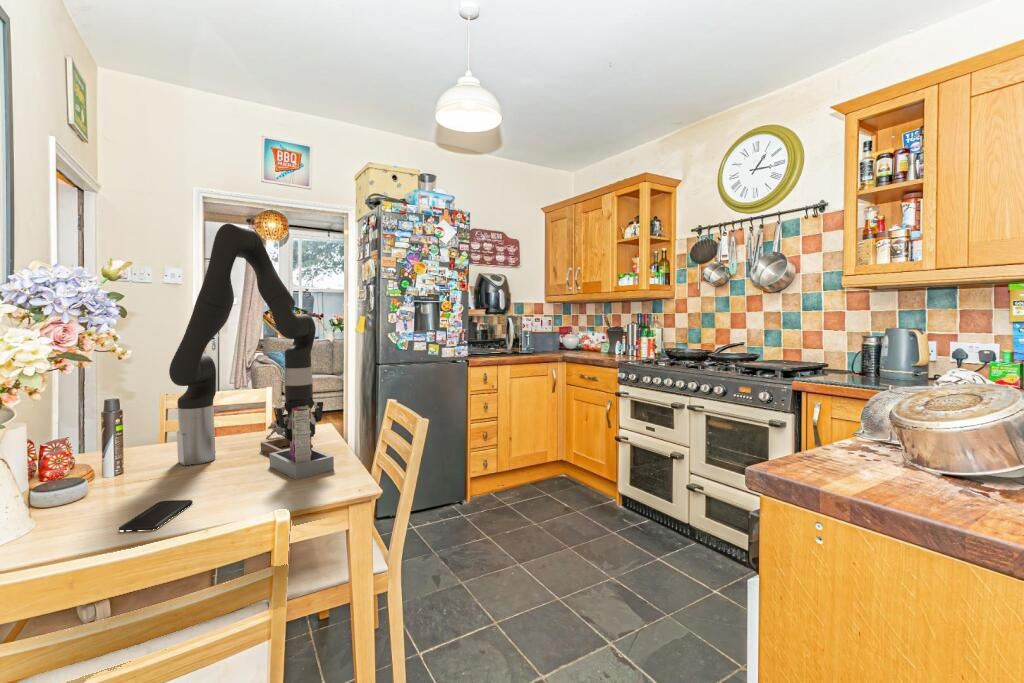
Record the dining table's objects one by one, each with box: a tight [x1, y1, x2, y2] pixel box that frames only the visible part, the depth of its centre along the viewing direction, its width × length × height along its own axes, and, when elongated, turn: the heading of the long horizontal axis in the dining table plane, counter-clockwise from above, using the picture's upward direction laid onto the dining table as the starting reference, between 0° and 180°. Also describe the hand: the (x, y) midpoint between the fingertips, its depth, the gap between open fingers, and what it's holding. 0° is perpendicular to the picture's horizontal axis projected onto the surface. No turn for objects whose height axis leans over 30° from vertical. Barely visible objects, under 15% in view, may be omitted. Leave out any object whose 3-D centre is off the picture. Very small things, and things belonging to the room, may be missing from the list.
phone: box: [118, 499, 193, 531], centre depth 110 cm, size 8×1×15 cm
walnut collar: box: [260, 437, 314, 455], centre depth 158 cm, size 10×16×3 cm, turn 49°
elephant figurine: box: [265, 418, 286, 440], centre depth 176 cm, size 10×6×9 cm
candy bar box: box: [289, 406, 312, 464], centre depth 142 cm, size 11×5×16 cm, turn 31°
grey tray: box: [268, 447, 335, 480], centre depth 143 cm, size 11×17×4 cm, turn 49°
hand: (300, 438), depth 142 cm, fingers closed on candy bar box, 6 cm apart
